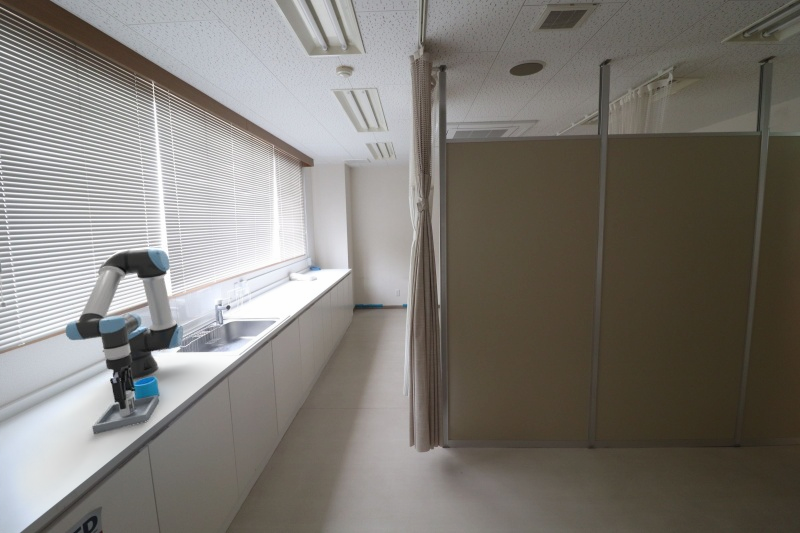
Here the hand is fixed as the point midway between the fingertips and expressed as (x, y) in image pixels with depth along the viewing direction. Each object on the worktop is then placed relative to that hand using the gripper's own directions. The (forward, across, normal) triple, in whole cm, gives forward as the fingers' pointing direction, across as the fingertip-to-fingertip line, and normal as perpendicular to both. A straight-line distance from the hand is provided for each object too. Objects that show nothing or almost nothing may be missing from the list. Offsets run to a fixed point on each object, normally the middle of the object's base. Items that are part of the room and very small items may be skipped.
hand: (128, 411), depth 128 cm
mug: (+2, -15, +3) cm, 16 cm away
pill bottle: (+1, 0, 0) cm, 1 cm away
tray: (+2, 0, 0) cm, 2 cm away
